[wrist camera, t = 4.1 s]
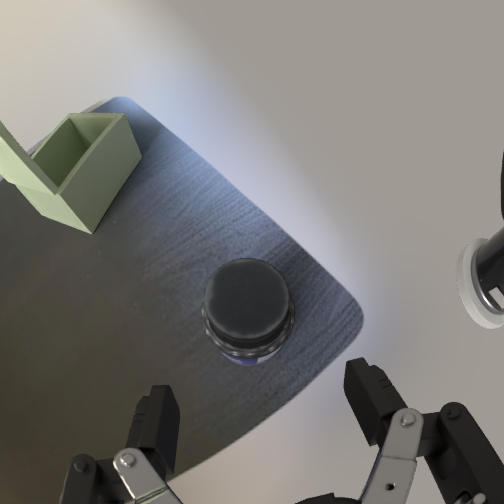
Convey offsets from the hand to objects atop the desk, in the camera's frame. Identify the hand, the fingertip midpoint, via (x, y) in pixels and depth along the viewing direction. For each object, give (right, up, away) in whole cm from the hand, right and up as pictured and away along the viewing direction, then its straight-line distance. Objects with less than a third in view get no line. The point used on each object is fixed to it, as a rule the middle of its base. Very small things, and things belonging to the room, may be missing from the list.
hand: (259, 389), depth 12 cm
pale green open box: (-23, +15, +22) cm, 35 cm away
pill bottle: (-1, -1, +14) cm, 14 cm away
